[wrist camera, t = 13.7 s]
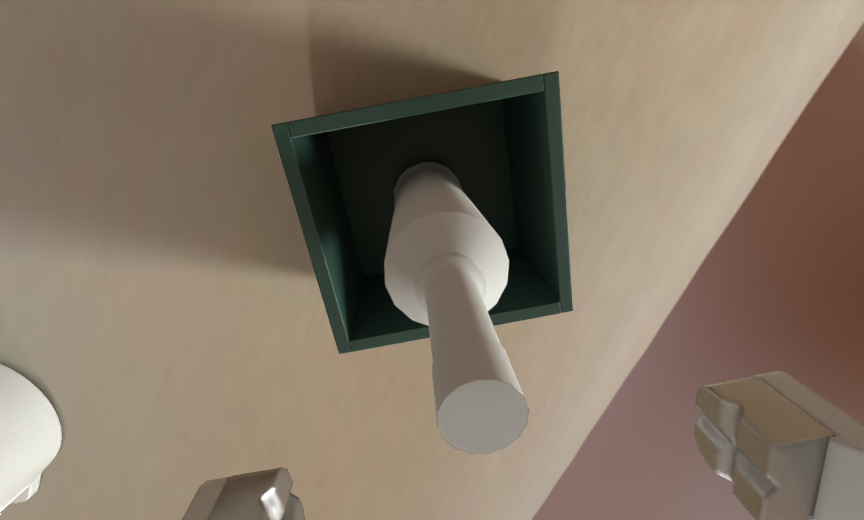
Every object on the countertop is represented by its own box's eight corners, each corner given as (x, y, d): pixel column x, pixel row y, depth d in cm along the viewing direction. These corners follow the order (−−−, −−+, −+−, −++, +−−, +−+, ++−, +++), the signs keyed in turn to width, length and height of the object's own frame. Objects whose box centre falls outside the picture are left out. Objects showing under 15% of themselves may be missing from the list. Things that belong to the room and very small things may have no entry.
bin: (357, 283, 36) (339, 354, 26) (314, 118, 31) (270, 125, 21) (525, 251, 36) (573, 310, 26) (507, 82, 31) (559, 70, 21)
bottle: (400, 152, 31) (386, 292, 8) (467, 166, 32) (634, 334, 9) (388, 218, 33) (347, 492, 10) (451, 230, 34) (557, 514, 10)
